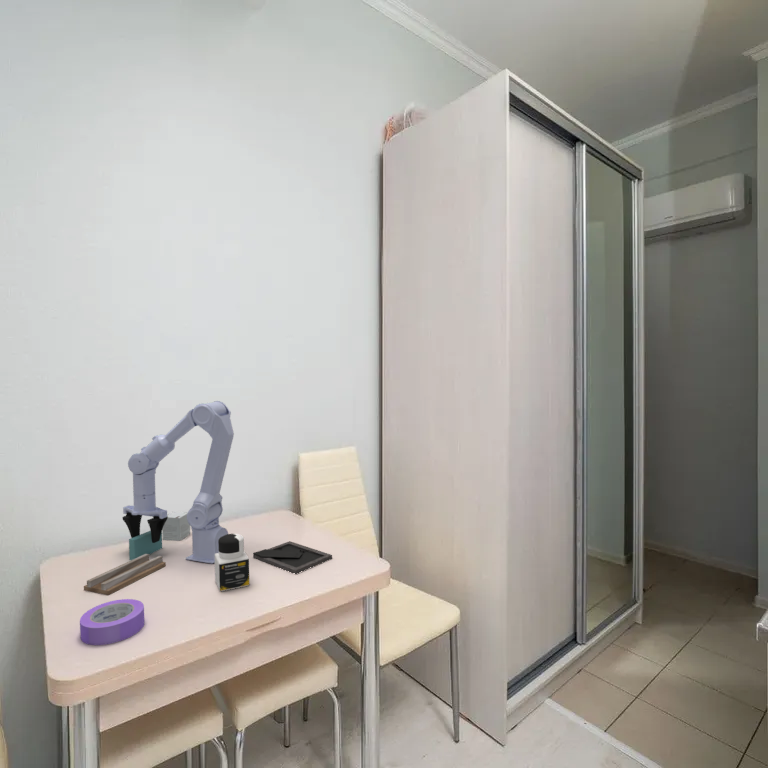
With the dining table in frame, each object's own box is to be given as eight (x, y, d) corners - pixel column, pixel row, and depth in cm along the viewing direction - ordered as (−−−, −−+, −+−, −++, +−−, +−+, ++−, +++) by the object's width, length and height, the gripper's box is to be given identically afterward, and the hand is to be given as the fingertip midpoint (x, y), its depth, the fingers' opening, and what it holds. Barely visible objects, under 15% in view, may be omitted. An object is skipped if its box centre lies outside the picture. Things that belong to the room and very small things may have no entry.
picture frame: (253, 559, 140) (295, 576, 129) (253, 552, 140) (295, 568, 129) (289, 546, 150) (332, 560, 139) (289, 539, 150) (332, 553, 139)
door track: (165, 565, 135) (165, 556, 135) (108, 595, 118) (108, 584, 118) (143, 562, 138) (142, 553, 138) (83, 590, 121) (83, 580, 121)
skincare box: (173, 533, 161) (172, 511, 161) (190, 534, 160) (190, 511, 160) (162, 540, 155) (161, 516, 155) (180, 541, 154) (179, 517, 154)
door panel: (162, 548, 148) (161, 528, 148) (134, 561, 139) (134, 540, 139) (157, 547, 149) (156, 528, 149) (129, 560, 140) (128, 539, 139)
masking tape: (83, 653, 95) (82, 633, 95) (77, 627, 104) (77, 609, 104) (149, 633, 102) (149, 614, 102) (138, 610, 111) (138, 593, 111)
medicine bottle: (219, 592, 119) (218, 543, 119) (214, 581, 125) (213, 534, 125) (249, 586, 122) (248, 538, 122) (243, 575, 129) (242, 529, 128)
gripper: (113, 494, 142) (115, 541, 142) (153, 499, 137) (154, 548, 137) (134, 488, 148) (135, 533, 149) (172, 493, 143) (173, 539, 144)
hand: (145, 540), depth 144 cm, fingers open, 7 cm apart
